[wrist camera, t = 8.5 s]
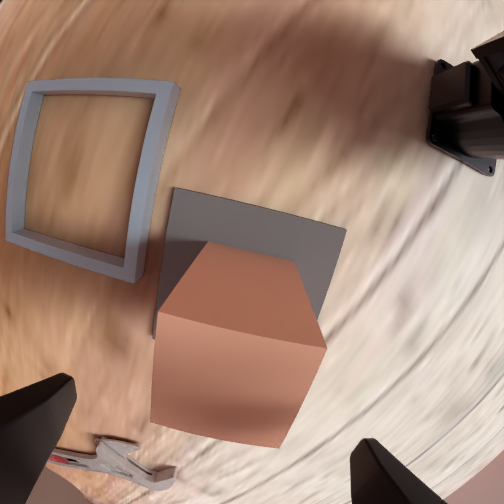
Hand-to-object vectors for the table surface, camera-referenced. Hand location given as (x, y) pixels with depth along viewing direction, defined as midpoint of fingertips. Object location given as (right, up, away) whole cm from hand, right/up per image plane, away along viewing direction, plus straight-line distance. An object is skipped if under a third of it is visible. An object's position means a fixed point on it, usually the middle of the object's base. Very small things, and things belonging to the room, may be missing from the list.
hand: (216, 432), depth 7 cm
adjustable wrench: (-19, -19, +17) cm, 32 cm away
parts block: (0, +3, +10) cm, 11 cm away
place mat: (0, +3, +11) cm, 11 cm away
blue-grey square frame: (-10, +10, +9) cm, 17 cm away
